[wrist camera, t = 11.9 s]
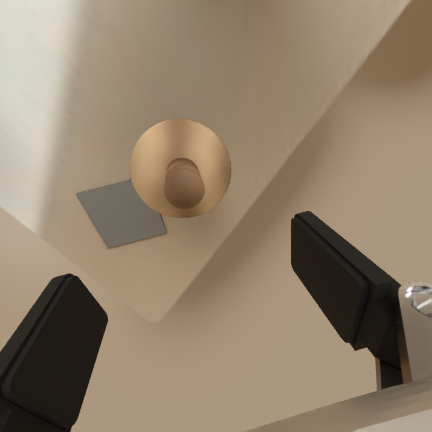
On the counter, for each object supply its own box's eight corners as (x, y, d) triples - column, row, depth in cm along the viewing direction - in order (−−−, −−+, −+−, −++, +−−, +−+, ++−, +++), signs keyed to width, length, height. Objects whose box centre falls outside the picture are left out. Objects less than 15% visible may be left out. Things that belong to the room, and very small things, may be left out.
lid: (220, 108, 21) (235, 109, 16) (235, 202, 26) (250, 226, 21) (113, 131, 20) (92, 140, 15) (151, 223, 26) (145, 253, 20)
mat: (145, 176, 35) (145, 177, 35) (166, 231, 41) (166, 232, 41) (76, 193, 35) (75, 194, 34) (108, 247, 41) (107, 248, 40)
